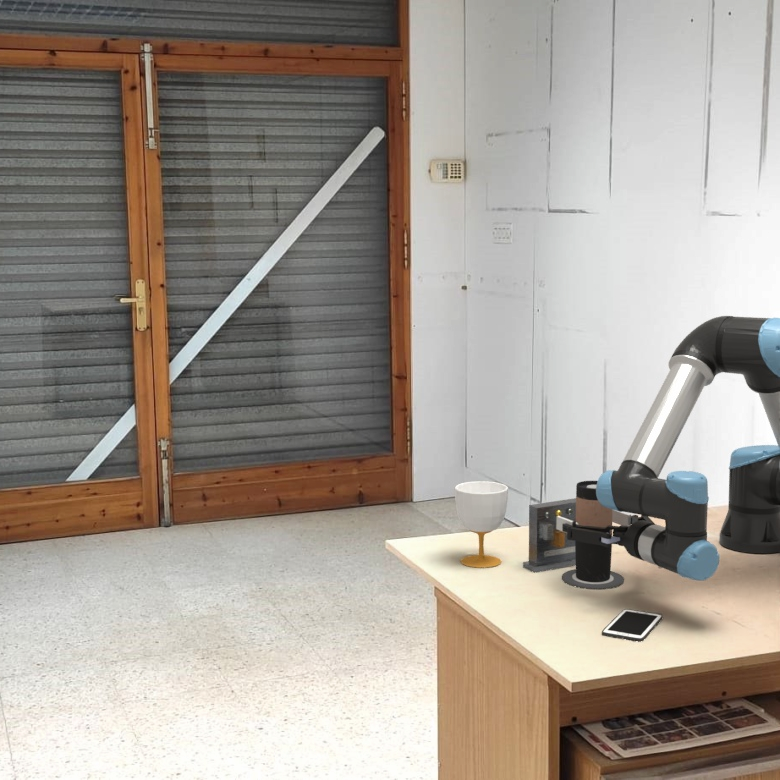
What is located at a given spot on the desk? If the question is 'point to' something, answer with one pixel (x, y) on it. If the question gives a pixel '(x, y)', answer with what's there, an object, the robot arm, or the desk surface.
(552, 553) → the breaker panel
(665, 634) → the desk surface
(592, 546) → the travel mug
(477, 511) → the cup
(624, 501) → the robot arm
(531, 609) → the desk surface
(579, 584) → the pad
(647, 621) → the cell phone
